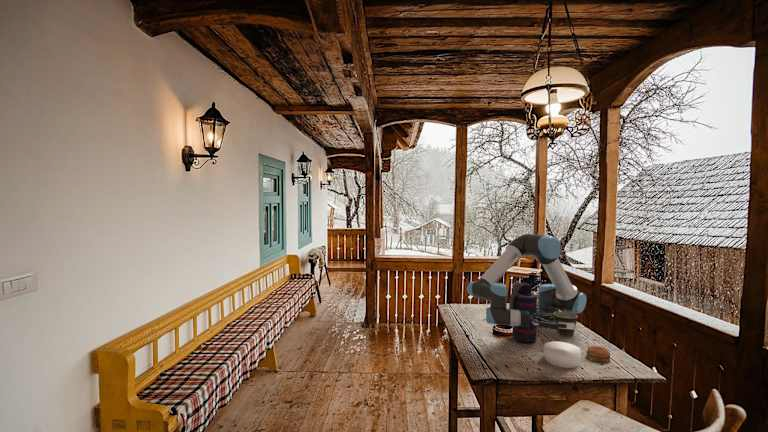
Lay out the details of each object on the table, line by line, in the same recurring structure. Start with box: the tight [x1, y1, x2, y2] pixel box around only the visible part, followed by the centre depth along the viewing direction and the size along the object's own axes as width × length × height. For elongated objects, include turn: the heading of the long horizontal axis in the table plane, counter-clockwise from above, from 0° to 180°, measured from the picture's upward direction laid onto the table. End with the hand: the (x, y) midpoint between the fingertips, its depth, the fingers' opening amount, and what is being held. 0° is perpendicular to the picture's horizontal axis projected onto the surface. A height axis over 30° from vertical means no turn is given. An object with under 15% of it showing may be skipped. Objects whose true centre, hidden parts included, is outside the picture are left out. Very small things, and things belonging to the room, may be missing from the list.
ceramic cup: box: [549, 310, 579, 340], centre depth 169 cm, size 13×10×10 cm
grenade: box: [508, 281, 538, 344], centre depth 195 cm, size 14×12×30 cm
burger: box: [586, 345, 611, 363], centre depth 173 cm, size 10×9×5 cm
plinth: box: [544, 341, 582, 369], centre depth 170 cm, size 15×15×6 cm
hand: (572, 322), depth 168 cm, fingers closed on ceramic cup, 9 cm apart
